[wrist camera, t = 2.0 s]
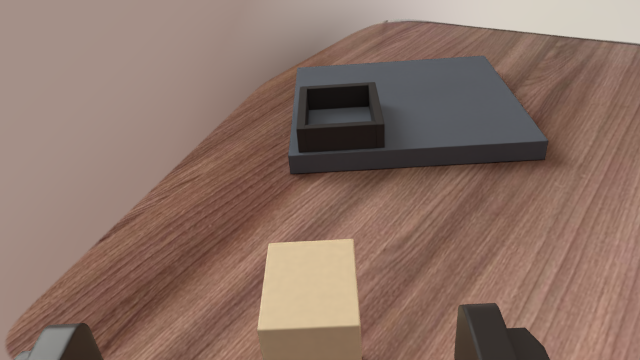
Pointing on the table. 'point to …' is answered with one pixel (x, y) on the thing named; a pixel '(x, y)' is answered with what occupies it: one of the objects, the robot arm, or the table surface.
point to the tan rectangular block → (310, 302)
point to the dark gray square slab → (408, 116)
